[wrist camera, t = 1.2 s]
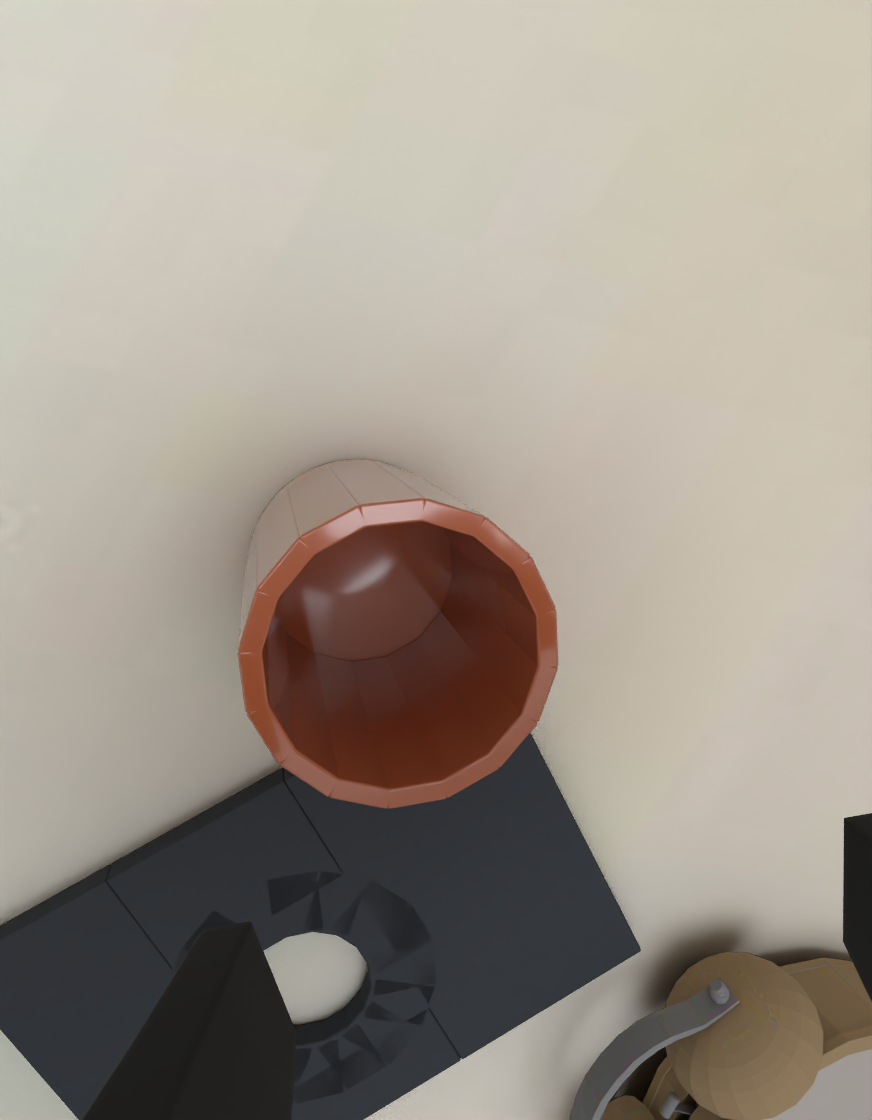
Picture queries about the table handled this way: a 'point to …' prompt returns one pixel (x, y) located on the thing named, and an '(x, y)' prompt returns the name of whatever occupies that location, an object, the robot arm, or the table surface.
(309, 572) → the cup
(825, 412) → the table surface
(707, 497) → the table surface
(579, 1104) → the alarm clock
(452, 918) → the drain mat
